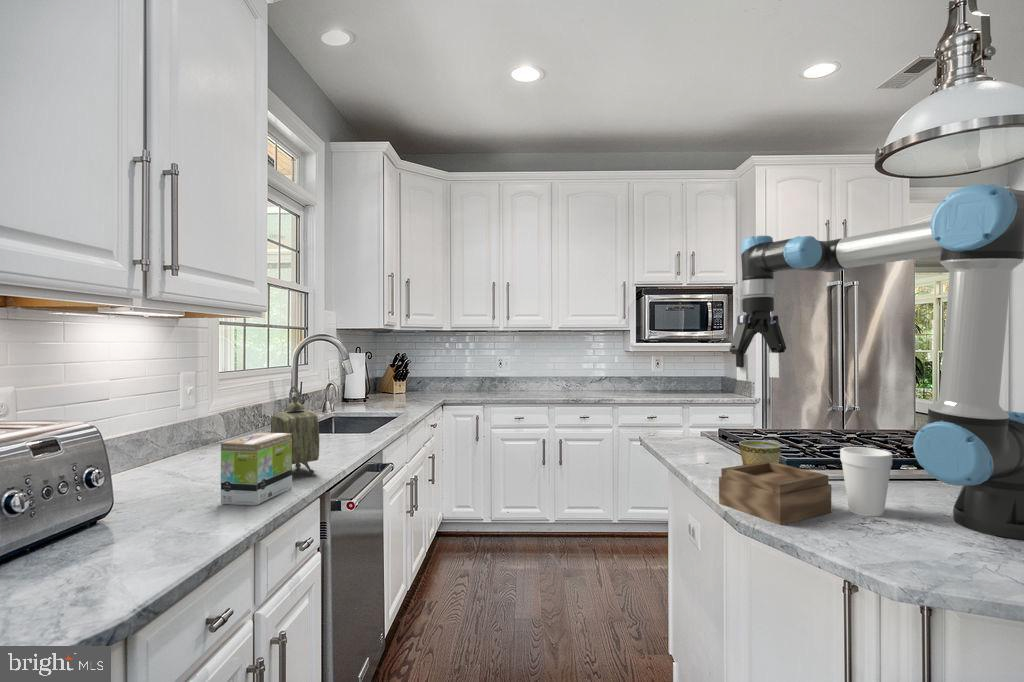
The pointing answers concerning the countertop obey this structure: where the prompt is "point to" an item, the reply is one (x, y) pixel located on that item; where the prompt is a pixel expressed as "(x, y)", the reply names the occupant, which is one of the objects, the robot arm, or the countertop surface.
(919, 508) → the countertop surface
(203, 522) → the countertop surface
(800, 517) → the wooden box
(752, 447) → the ceramic cup
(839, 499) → the countertop surface
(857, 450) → the foam cup
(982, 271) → the robot arm
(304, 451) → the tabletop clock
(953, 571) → the countertop surface
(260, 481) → the tea box
